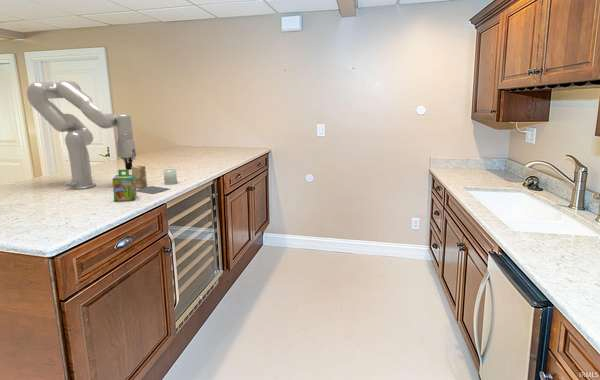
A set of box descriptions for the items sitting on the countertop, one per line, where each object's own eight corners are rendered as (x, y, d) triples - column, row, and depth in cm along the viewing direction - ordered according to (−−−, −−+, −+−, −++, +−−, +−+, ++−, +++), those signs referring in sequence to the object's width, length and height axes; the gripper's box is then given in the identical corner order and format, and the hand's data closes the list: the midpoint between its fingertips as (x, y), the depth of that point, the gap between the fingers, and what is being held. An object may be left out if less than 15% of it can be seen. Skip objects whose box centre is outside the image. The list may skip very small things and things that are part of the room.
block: (139, 189, 206) (137, 167, 203) (133, 188, 208) (131, 166, 205) (147, 187, 210) (145, 166, 207) (140, 186, 212) (138, 165, 210)
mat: (153, 194, 196) (153, 193, 196) (134, 191, 202) (134, 190, 202) (170, 189, 206) (170, 188, 206) (151, 186, 212) (151, 185, 212)
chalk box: (114, 202, 181) (110, 172, 177) (117, 197, 189) (114, 168, 186) (134, 200, 183) (131, 171, 180) (137, 196, 192) (134, 167, 188)
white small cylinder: (170, 185, 216) (169, 171, 214) (162, 183, 219) (160, 170, 217) (179, 182, 222) (178, 169, 220) (170, 181, 225) (169, 168, 223)
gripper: (110, 136, 206) (114, 169, 210) (129, 138, 199) (133, 171, 204) (121, 135, 212) (125, 167, 217) (140, 136, 206) (144, 169, 210)
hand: (129, 169), depth 210 cm, fingers closed
